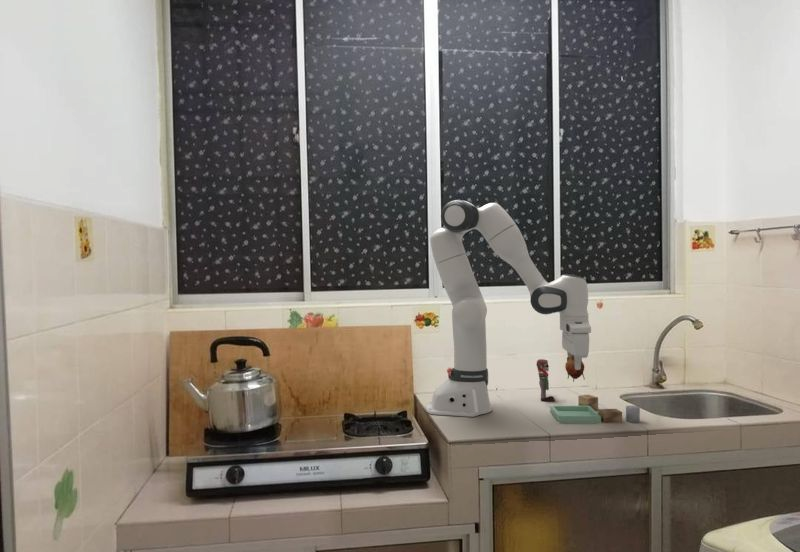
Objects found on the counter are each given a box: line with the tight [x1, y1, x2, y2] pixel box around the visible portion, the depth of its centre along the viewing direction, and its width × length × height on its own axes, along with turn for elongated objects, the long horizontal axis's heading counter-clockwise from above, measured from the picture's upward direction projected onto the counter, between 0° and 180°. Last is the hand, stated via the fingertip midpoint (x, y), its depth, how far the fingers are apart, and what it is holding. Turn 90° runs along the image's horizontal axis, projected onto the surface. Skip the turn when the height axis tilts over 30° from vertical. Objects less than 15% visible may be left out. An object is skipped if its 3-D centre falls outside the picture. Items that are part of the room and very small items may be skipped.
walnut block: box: [597, 408, 623, 424], centre depth 171 cm, size 6×4×4 cm, turn 96°
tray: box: [549, 404, 602, 424], centre depth 176 cm, size 13×13×2 cm
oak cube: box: [577, 394, 599, 412], centre depth 185 cm, size 4×4×4 cm
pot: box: [564, 356, 586, 383], centre depth 175 cm, size 6×8×6 cm
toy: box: [536, 358, 556, 403], centre depth 198 cm, size 18×6×15 cm, turn 168°
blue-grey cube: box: [625, 405, 641, 424], centre depth 170 cm, size 4×4×4 cm
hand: (574, 367), depth 175 cm, fingers closed on pot, 6 cm apart
